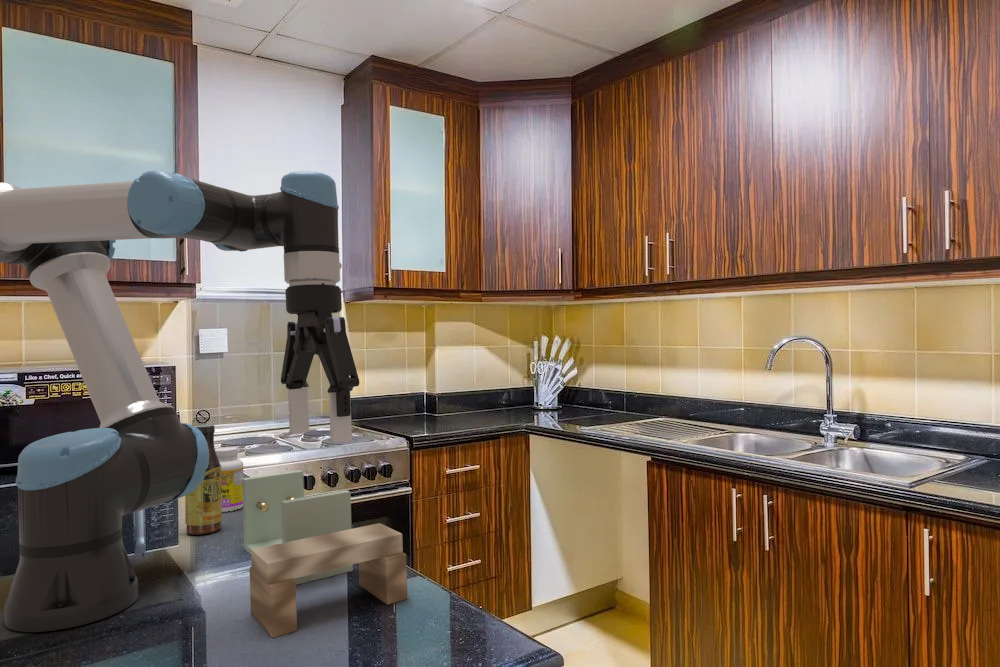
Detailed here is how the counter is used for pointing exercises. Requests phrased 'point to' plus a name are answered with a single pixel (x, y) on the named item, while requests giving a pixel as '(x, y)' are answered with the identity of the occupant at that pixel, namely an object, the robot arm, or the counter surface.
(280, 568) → the shelf board
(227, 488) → the supplement bottle
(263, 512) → the shelf frame
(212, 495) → the sauce bottle
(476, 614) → the counter surface
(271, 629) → the blocks
